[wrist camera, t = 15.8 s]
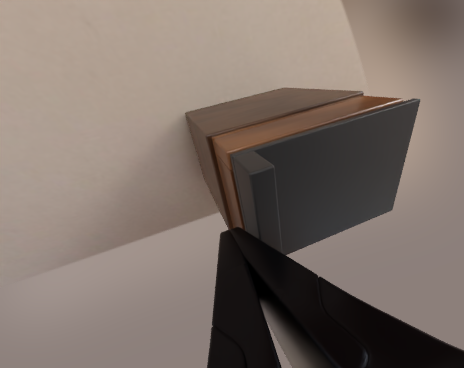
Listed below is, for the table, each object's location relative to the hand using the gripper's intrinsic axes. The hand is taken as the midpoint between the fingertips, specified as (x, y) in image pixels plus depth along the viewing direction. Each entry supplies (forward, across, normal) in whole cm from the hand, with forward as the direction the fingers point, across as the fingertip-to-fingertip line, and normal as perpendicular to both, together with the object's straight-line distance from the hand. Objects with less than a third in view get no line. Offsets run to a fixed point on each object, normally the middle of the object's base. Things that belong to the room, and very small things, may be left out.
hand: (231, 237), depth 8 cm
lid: (+1, -5, 0) cm, 5 cm away
